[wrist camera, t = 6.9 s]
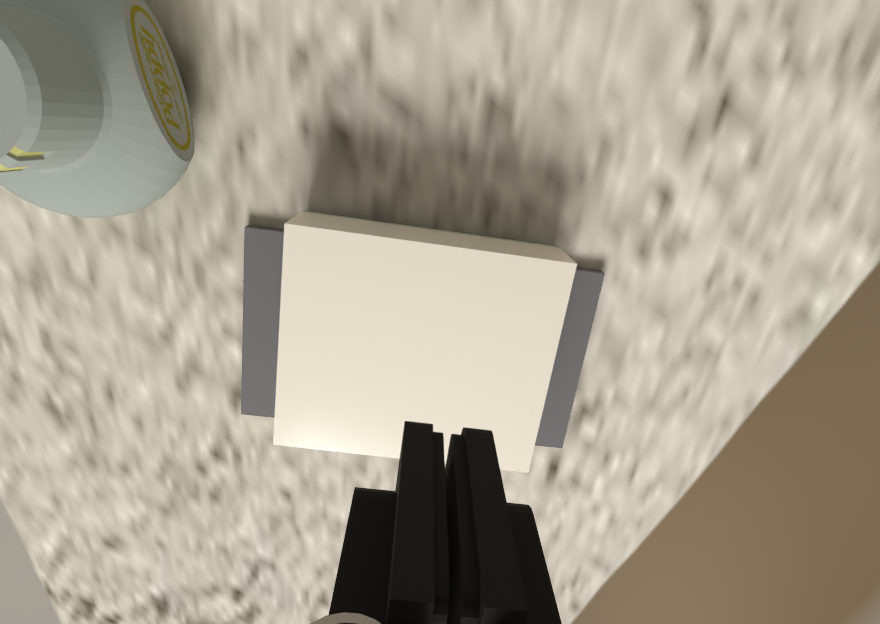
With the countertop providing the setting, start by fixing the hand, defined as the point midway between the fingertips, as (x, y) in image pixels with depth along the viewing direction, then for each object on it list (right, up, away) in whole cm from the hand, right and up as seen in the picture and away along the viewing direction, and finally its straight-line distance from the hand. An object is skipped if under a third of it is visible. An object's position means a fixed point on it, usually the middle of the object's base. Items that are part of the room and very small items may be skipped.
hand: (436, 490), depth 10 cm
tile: (0, +7, +17) cm, 19 cm away
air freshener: (-17, +14, +17) cm, 28 cm away
